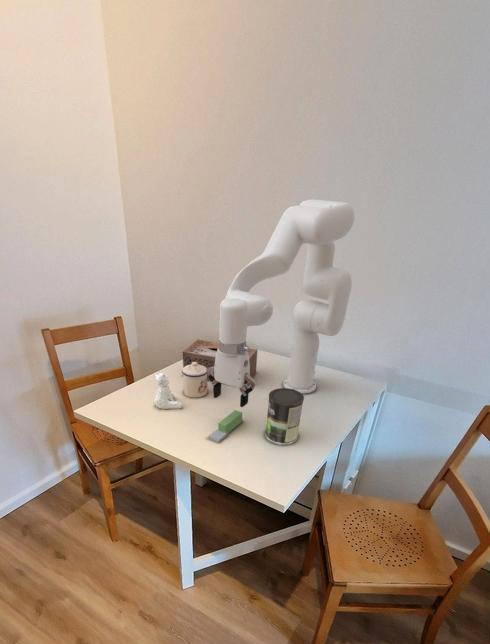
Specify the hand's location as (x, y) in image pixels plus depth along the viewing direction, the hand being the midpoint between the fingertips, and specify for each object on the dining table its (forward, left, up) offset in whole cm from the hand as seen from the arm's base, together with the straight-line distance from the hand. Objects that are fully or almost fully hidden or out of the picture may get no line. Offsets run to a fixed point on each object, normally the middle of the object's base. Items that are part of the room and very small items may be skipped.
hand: (230, 400), depth 118 cm
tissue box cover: (-31, -25, -10) cm, 41 cm away
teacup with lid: (-14, -24, -10) cm, 30 cm away
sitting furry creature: (+1, -26, -10) cm, 28 cm away
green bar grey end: (+2, 0, -10) cm, 10 cm away
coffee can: (-5, +16, -10) cm, 20 cm away
